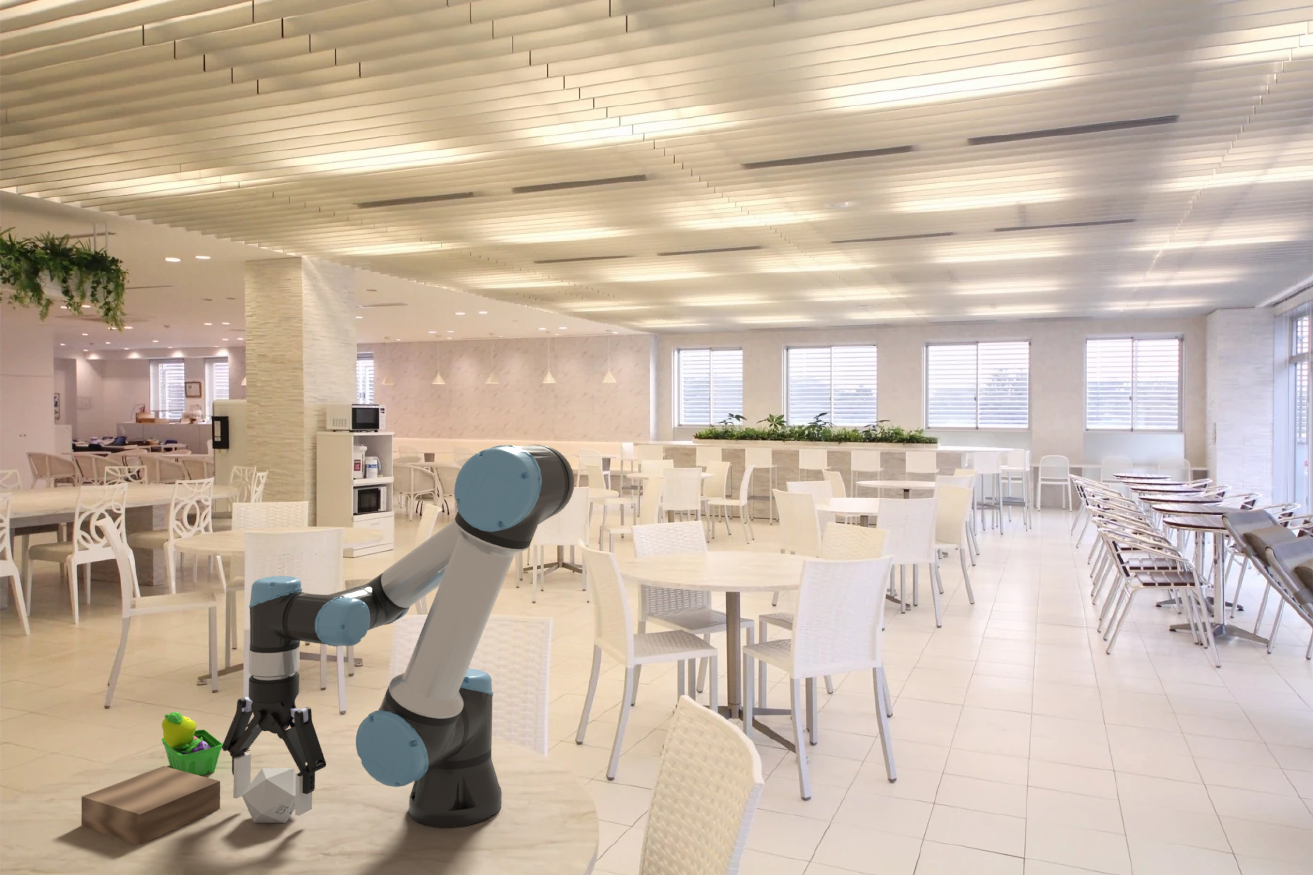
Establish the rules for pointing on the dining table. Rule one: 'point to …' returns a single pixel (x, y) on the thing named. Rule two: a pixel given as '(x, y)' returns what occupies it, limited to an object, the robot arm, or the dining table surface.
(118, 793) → the walnut block
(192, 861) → the dining table surface
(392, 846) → the dining table surface
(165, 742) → the fruit basket
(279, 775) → the die
